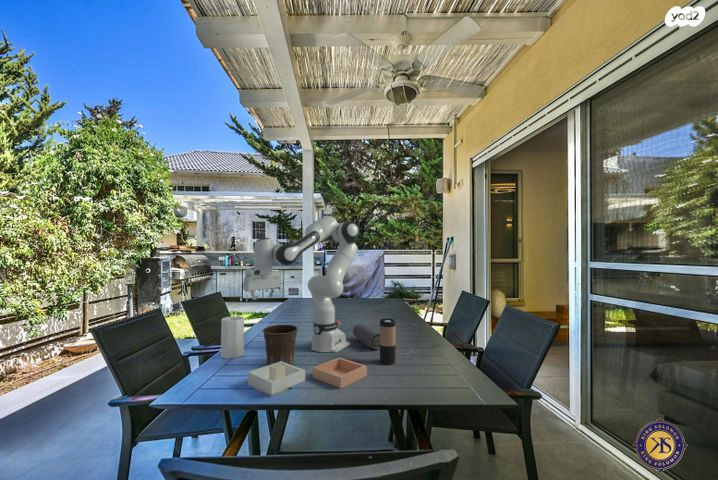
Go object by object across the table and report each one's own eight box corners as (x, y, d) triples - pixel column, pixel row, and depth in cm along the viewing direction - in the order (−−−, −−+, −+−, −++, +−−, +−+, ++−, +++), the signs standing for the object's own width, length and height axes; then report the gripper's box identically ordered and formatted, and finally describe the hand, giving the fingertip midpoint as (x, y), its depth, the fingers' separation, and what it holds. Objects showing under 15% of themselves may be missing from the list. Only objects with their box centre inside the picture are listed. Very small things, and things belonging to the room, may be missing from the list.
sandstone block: (278, 377, 133) (278, 363, 133) (285, 380, 130) (285, 365, 130) (268, 381, 129) (269, 366, 129) (275, 384, 126) (275, 369, 126)
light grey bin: (281, 372, 141) (281, 361, 141) (305, 382, 130) (305, 370, 131) (247, 384, 128) (248, 372, 128) (271, 396, 118) (271, 383, 118)
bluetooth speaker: (351, 340, 189) (351, 323, 190) (366, 339, 193) (366, 322, 194) (369, 352, 169) (369, 333, 169) (384, 350, 173) (384, 331, 173)
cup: (247, 352, 168) (248, 316, 168) (237, 359, 157) (238, 321, 157) (227, 351, 169) (228, 315, 170) (216, 358, 158) (216, 320, 158)
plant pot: (289, 370, 143) (289, 334, 143) (255, 368, 146) (256, 332, 146) (302, 358, 159) (303, 325, 159) (272, 356, 162) (272, 323, 162)
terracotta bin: (339, 368, 146) (339, 357, 146) (366, 377, 136) (366, 365, 136) (312, 379, 133) (312, 367, 134) (340, 390, 123) (341, 377, 123)
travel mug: (376, 363, 153) (377, 320, 153) (383, 358, 159) (383, 317, 160) (392, 366, 149) (392, 322, 150) (397, 361, 156) (398, 319, 156)
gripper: (276, 269, 170) (276, 295, 170) (241, 271, 154) (241, 300, 154) (284, 269, 166) (284, 296, 166) (248, 272, 150) (248, 302, 150)
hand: (263, 298), depth 160 cm, fingers open, 8 cm apart
